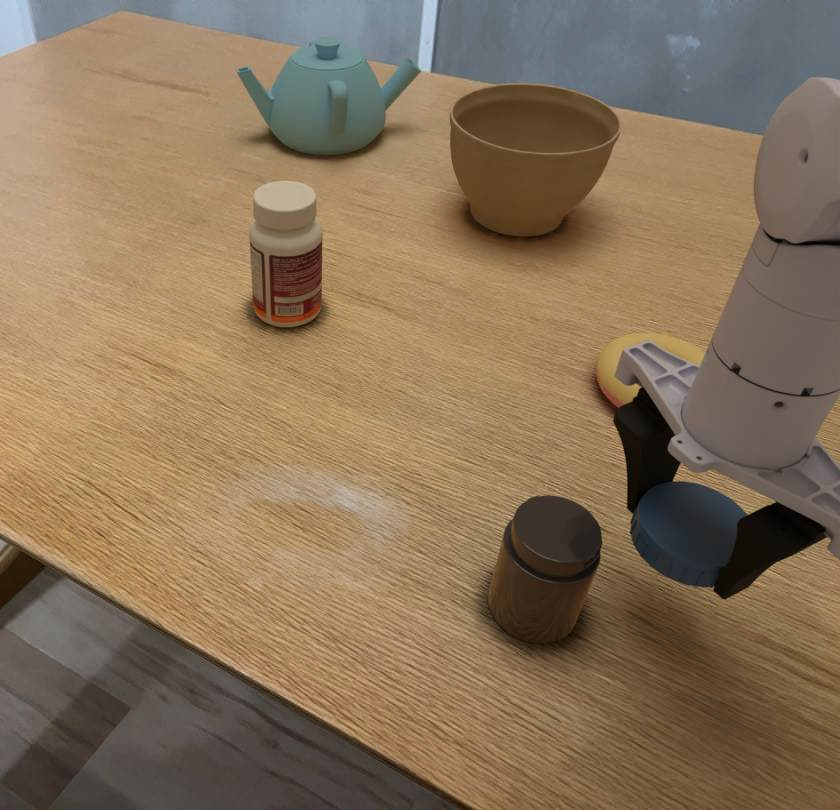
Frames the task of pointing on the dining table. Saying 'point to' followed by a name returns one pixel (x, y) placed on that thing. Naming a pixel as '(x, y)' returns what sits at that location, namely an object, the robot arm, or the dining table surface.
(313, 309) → the pill bottle
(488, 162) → the planter bowl
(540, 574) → the jar
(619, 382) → the donut
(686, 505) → the lid
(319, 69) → the teapot
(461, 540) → the dining table surface
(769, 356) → the robot arm
